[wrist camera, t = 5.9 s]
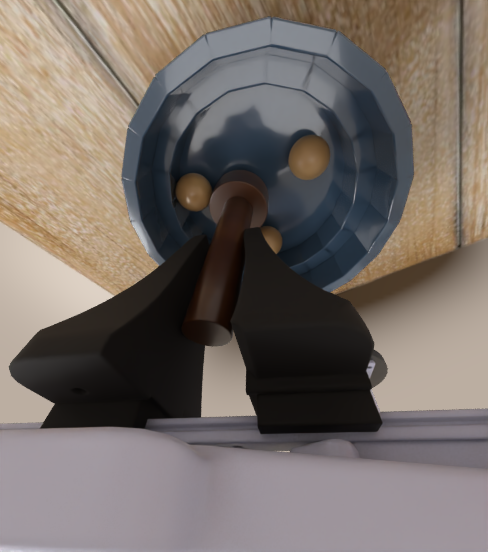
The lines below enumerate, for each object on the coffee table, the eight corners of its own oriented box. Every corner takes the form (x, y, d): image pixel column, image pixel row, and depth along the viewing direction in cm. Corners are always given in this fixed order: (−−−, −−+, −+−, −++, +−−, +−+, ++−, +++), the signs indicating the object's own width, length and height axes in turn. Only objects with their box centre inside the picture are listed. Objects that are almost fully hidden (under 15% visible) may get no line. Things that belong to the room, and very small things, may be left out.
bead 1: (223, 205, 13) (194, 224, 13) (206, 187, 14) (179, 205, 14) (212, 177, 11) (178, 198, 11) (194, 159, 12) (162, 178, 12)
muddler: (241, 230, 15) (213, 364, 9) (203, 195, 13) (135, 327, 7) (280, 199, 13) (280, 342, 7) (241, 155, 12) (195, 285, 5)
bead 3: (323, 170, 12) (333, 181, 11) (287, 176, 13) (291, 188, 11) (325, 128, 11) (337, 134, 10) (285, 136, 11) (290, 143, 10)
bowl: (351, 255, 17) (377, 299, 13) (195, 274, 18) (182, 318, 15) (392, 8, 9) (479, -41, 6) (115, 78, 11) (49, 74, 7)
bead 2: (281, 244, 16) (284, 261, 14) (253, 248, 16) (253, 265, 14) (279, 218, 14) (283, 234, 13) (248, 222, 15) (248, 238, 13)
